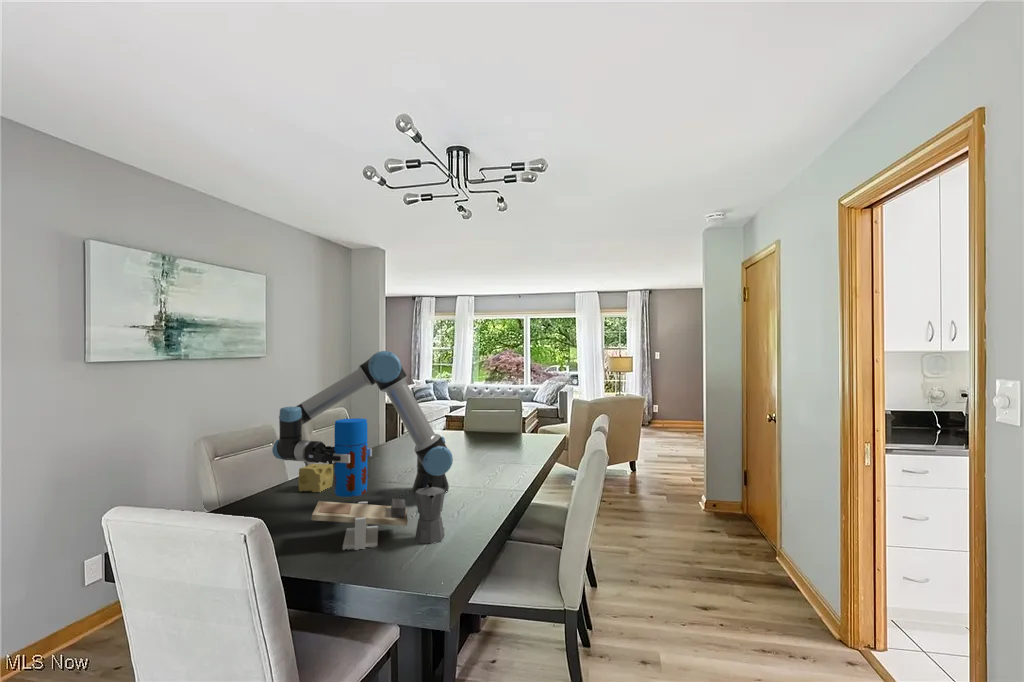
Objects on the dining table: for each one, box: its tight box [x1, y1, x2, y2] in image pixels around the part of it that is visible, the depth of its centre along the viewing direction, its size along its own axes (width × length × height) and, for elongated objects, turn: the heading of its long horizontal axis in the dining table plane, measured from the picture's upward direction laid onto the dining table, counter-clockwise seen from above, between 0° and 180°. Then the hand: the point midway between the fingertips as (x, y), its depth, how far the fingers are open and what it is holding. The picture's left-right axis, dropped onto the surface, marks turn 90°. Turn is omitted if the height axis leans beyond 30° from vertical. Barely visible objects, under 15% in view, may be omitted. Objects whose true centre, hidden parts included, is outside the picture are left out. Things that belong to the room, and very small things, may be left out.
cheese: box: [298, 463, 334, 493], centre depth 214 cm, size 10×11×10 cm
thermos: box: [334, 417, 368, 498], centre depth 172 cm, size 11×11×25 cm
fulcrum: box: [342, 501, 379, 551], centre depth 157 cm, size 10×18×9 cm, turn 14°
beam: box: [311, 498, 408, 527], centre depth 157 cm, size 28×14×5 cm, turn 104°
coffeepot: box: [414, 481, 446, 544], centre depth 158 cm, size 15×9×18 cm, turn 13°
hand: (360, 455), depth 171 cm, fingers closed on thermos, 11 cm apart
